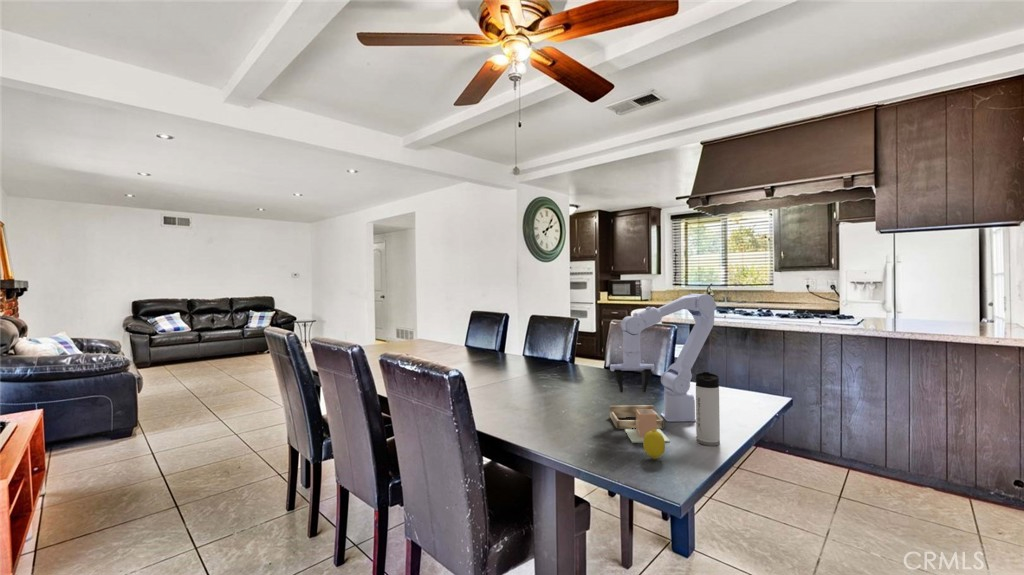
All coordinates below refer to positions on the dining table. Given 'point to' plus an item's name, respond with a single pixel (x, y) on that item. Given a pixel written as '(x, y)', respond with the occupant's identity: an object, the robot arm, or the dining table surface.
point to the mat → (636, 439)
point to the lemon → (654, 444)
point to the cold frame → (630, 412)
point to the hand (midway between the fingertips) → (632, 391)
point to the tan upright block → (645, 421)
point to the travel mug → (707, 409)
